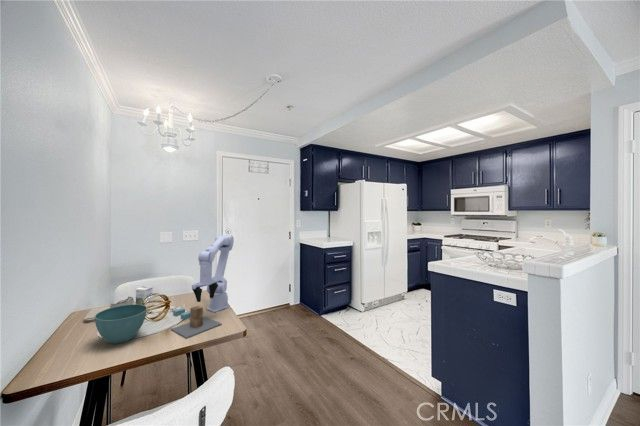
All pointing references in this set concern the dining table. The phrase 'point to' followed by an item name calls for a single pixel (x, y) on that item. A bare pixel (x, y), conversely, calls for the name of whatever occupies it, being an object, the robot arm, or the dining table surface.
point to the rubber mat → (190, 331)
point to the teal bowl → (120, 322)
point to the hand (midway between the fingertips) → (205, 299)
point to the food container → (123, 302)
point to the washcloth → (93, 314)
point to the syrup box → (143, 294)
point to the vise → (181, 313)
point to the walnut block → (196, 316)
